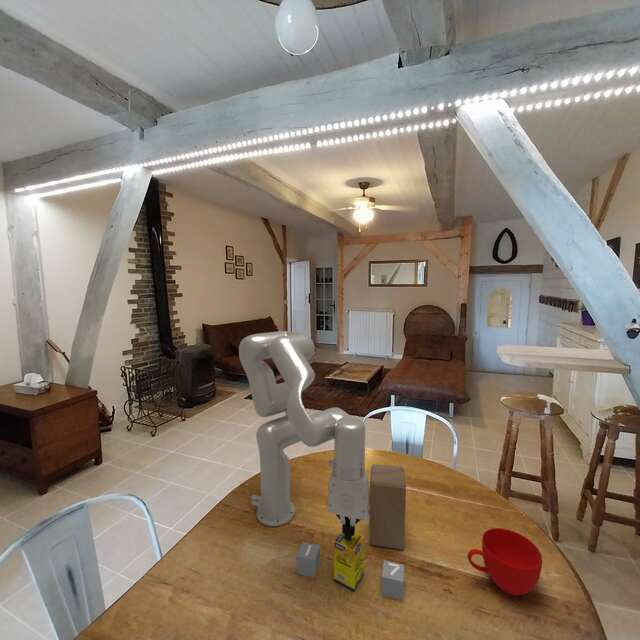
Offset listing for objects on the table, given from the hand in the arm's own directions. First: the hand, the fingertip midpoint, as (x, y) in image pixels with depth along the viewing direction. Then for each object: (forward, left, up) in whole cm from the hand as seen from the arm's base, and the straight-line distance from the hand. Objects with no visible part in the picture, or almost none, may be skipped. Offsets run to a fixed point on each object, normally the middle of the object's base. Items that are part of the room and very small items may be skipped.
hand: (348, 536), depth 83 cm
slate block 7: (+11, 0, -12) cm, 16 cm away
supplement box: (0, 0, -12) cm, 12 cm away
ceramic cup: (+37, +9, -12) cm, 40 cm away
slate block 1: (-11, 0, -12) cm, 16 cm away
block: (+8, +17, -12) cm, 22 cm away
